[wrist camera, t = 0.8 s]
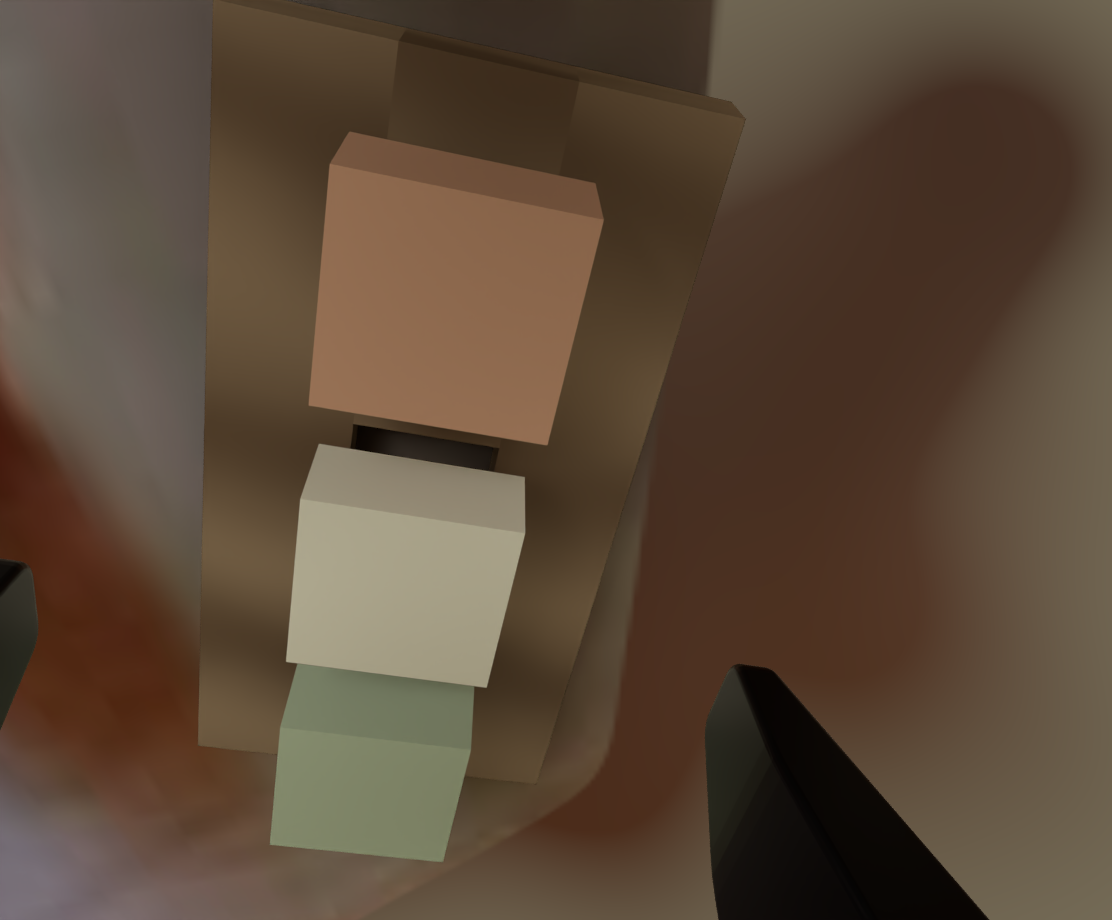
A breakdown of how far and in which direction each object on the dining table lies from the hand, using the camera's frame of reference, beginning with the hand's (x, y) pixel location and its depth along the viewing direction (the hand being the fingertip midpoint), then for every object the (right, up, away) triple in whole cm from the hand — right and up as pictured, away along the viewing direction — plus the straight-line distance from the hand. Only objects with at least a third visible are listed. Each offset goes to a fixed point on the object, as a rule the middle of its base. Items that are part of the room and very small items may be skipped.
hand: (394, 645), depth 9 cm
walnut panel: (-2, +2, +15) cm, 15 cm away
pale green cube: (-3, -4, +16) cm, 17 cm away
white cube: (-2, +1, +13) cm, 13 cm away
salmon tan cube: (0, +6, +10) cm, 11 cm away
